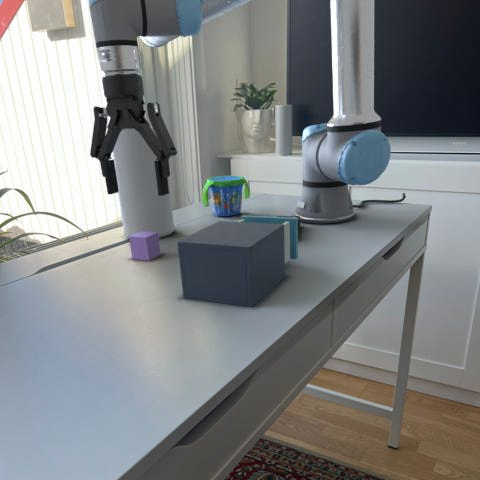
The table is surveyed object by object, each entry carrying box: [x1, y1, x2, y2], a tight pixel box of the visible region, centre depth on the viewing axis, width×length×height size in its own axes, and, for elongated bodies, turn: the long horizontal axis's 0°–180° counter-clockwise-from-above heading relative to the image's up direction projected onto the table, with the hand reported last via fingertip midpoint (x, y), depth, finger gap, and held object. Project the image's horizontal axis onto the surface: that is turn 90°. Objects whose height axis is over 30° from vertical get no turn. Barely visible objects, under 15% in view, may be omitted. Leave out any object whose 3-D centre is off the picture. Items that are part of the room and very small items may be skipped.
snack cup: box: [201, 175, 251, 217], centre depth 136 cm, size 16×10×10 cm
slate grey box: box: [176, 220, 286, 308], centre depth 81 cm, size 15×13×10 cm
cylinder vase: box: [111, 125, 175, 239], centre depth 116 cm, size 12×12×25 cm
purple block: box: [128, 231, 162, 262], centre depth 102 cm, size 4×4×5 cm
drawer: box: [236, 214, 299, 264], centre depth 91 cm, size 19×11×8 cm, turn 155°
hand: (138, 194), depth 97 cm, fingers open, 12 cm apart
